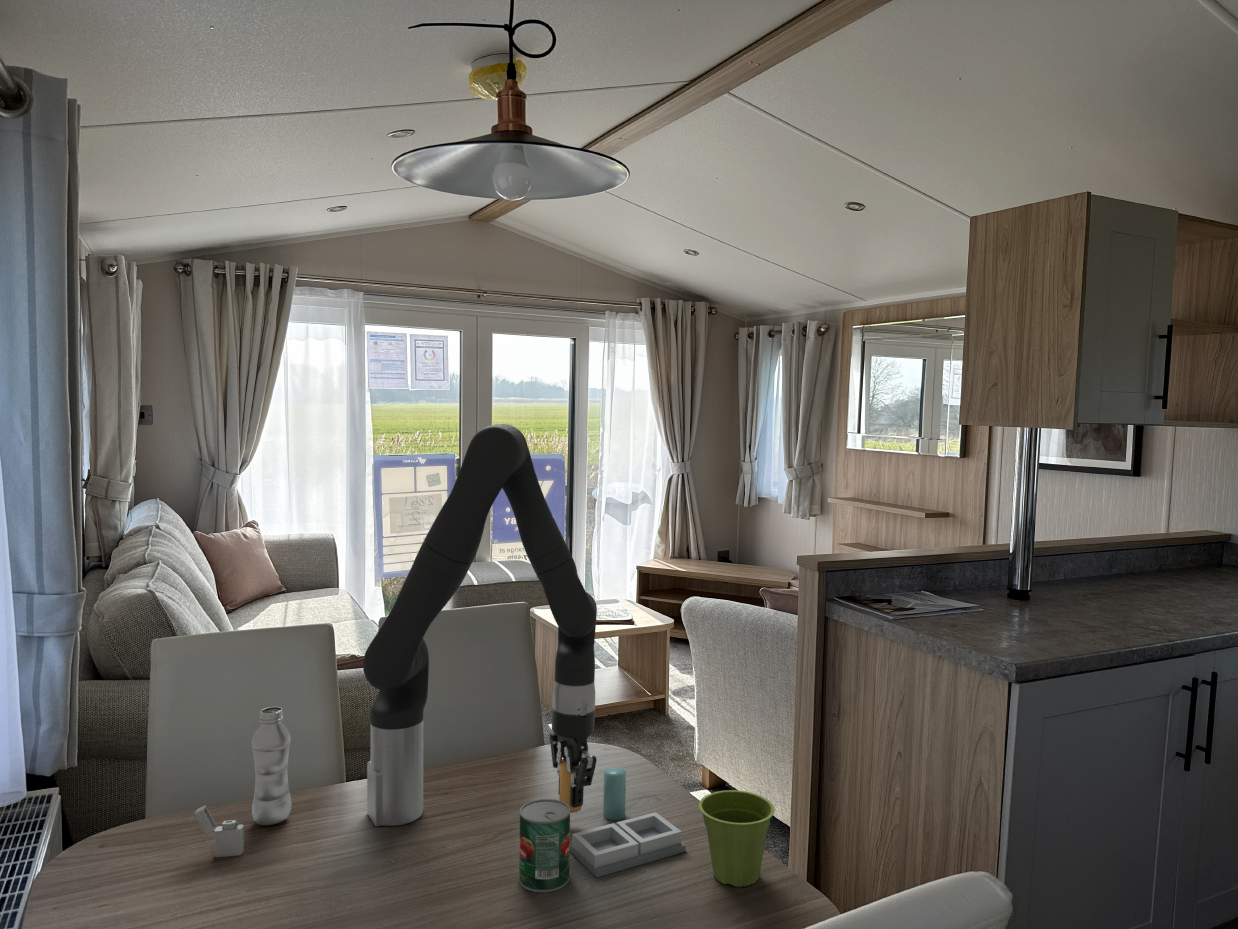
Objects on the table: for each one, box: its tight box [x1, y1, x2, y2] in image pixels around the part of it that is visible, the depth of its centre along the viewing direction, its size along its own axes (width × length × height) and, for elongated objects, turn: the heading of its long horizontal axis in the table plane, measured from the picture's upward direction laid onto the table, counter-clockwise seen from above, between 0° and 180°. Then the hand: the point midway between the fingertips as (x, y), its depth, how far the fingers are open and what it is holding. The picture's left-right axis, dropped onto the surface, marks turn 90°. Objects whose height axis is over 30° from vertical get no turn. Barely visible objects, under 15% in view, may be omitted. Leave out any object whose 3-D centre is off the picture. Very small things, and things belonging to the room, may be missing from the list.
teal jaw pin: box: [602, 767, 627, 821], centre depth 151 cm, size 4×4×8 cm
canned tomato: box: [518, 798, 571, 893], centre depth 129 cm, size 8×8×11 cm
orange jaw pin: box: [558, 760, 583, 814], centre depth 147 cm, size 4×4×8 cm
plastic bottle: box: [251, 706, 293, 826], centre depth 147 cm, size 6×7×20 cm
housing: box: [570, 812, 687, 878], centre depth 138 cm, size 17×10×3 cm, turn 120°
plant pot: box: [698, 789, 776, 888], centre depth 131 cm, size 12×12×11 cm
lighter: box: [194, 805, 245, 858], centre depth 135 cm, size 7×2×8 cm, turn 101°
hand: (570, 800), depth 147 cm, fingers closed on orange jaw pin, 4 cm apart
